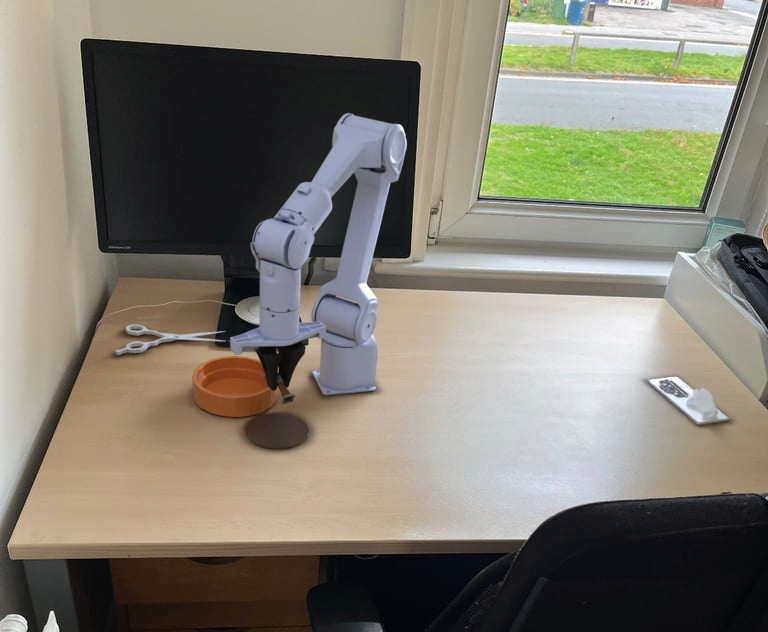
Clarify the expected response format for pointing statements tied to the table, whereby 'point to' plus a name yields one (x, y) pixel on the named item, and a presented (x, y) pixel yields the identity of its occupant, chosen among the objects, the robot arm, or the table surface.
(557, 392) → the table surface
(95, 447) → the table surface
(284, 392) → the wooden post with brackets
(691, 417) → the white piece
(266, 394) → the bowl
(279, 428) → the coaster
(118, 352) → the scissors
